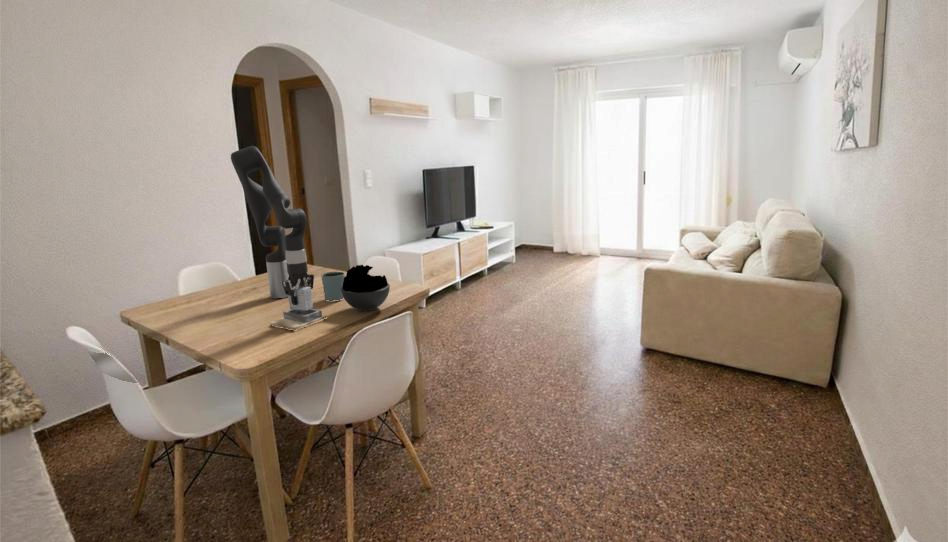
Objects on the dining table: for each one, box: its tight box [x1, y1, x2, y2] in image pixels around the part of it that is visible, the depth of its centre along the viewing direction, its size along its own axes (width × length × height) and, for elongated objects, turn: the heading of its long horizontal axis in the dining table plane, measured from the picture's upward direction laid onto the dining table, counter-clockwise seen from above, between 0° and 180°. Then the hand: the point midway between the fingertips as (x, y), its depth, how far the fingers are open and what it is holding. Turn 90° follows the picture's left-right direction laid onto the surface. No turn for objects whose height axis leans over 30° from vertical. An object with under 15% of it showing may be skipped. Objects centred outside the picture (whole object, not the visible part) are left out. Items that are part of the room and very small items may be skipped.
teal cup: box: [321, 271, 346, 301], centre depth 224 cm, size 10×10×12 cm
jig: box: [269, 308, 328, 330], centre depth 194 cm, size 16×14×4 cm
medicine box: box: [288, 286, 314, 311], centre depth 194 cm, size 8×4×9 cm, turn 71°
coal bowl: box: [341, 264, 391, 311], centre depth 208 cm, size 20×20×19 cm
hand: (300, 302), depth 195 cm, fingers closed on medicine box, 5 cm apart
